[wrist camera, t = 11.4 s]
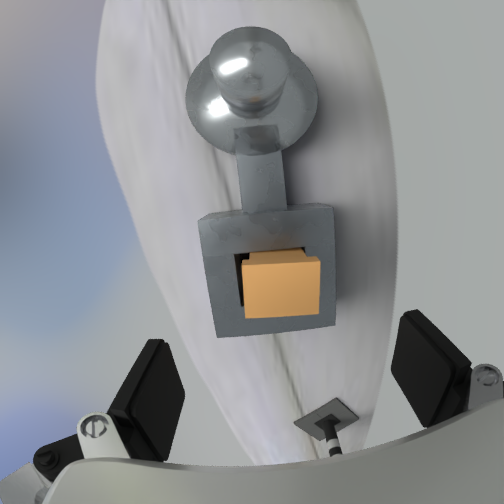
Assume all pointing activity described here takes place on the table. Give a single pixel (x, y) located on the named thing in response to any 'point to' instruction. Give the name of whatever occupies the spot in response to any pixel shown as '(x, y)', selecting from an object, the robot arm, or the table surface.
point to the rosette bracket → (258, 172)
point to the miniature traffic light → (328, 424)
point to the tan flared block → (281, 283)
